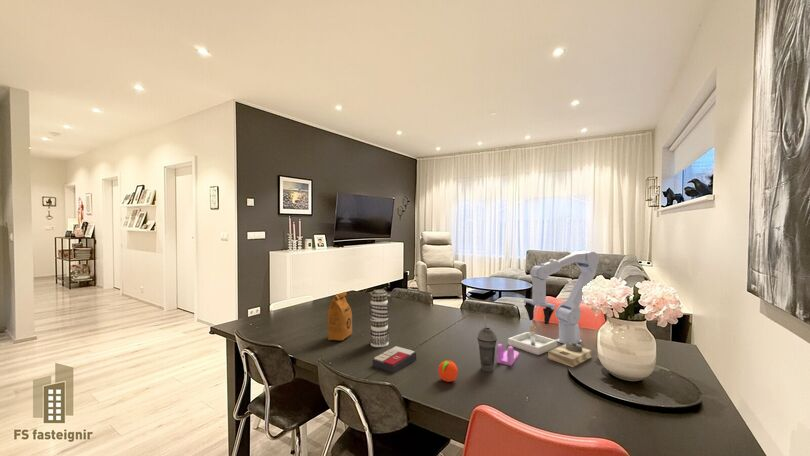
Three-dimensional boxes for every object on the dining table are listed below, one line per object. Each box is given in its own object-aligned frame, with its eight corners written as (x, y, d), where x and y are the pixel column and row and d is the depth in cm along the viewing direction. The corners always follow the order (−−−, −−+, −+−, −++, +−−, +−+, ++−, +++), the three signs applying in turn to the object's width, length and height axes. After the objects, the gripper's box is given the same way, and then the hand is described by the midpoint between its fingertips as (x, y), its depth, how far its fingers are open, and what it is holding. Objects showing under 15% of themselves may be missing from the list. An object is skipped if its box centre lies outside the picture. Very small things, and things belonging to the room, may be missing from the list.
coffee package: (355, 334, 165) (355, 291, 165) (342, 343, 153) (342, 296, 153) (338, 332, 168) (338, 290, 168) (324, 340, 156) (324, 295, 156)
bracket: (511, 366, 126) (510, 348, 126) (497, 362, 130) (496, 345, 130) (520, 355, 137) (520, 338, 137) (507, 352, 140) (507, 336, 140)
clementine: (452, 388, 109) (451, 367, 109) (433, 383, 113) (433, 363, 113) (460, 379, 116) (460, 359, 116) (443, 374, 120) (443, 355, 120)
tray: (527, 337, 157) (527, 331, 157) (557, 347, 145) (557, 340, 145) (508, 344, 148) (508, 338, 148) (538, 355, 136) (538, 348, 136)
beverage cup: (486, 374, 119) (486, 320, 119) (473, 367, 125) (473, 315, 125) (501, 370, 122) (500, 317, 122) (488, 363, 129) (487, 313, 129)
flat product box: (371, 357, 128) (395, 344, 139) (372, 368, 128) (396, 354, 140) (393, 364, 121) (416, 350, 133) (393, 375, 121) (416, 360, 133)
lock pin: (532, 343, 148) (531, 326, 148) (537, 345, 146) (537, 327, 146) (528, 344, 146) (528, 327, 146) (534, 346, 144) (534, 328, 144)
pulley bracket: (567, 350, 141) (566, 337, 141) (591, 357, 133) (591, 344, 133) (548, 358, 132) (548, 345, 132) (572, 367, 124) (572, 352, 124)
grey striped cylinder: (366, 345, 149) (365, 291, 149) (375, 339, 158) (374, 288, 157) (384, 348, 146) (383, 293, 145) (392, 341, 154) (391, 289, 154)
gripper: (520, 290, 152) (519, 319, 152) (549, 296, 140) (549, 327, 140) (528, 289, 156) (528, 317, 156) (557, 294, 144) (557, 324, 144)
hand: (538, 321), depth 148 cm, fingers open, 7 cm apart
